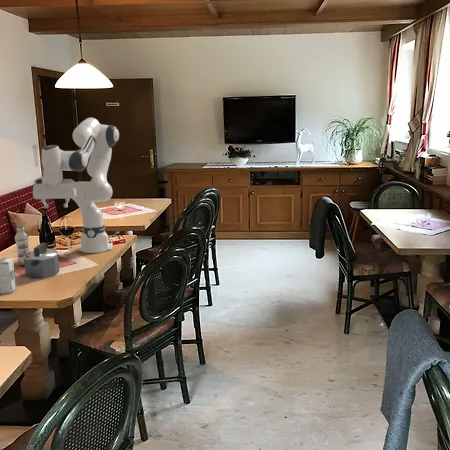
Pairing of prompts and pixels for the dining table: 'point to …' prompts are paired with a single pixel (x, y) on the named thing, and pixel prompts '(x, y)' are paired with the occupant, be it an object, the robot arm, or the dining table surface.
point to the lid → (40, 253)
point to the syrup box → (7, 276)
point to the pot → (42, 268)
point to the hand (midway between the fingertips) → (56, 207)
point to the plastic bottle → (21, 244)
